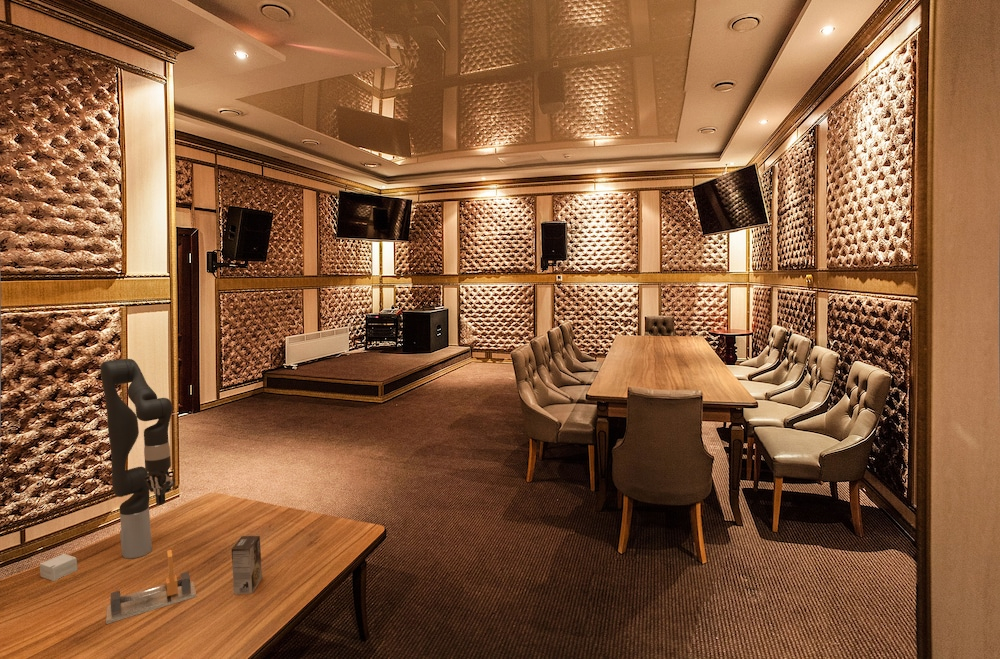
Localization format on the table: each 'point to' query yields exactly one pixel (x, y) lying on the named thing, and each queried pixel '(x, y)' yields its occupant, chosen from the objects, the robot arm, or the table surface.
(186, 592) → the pipe stand
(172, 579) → the orange wooden plank
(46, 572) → the small box
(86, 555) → the table surface
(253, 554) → the coffee box
